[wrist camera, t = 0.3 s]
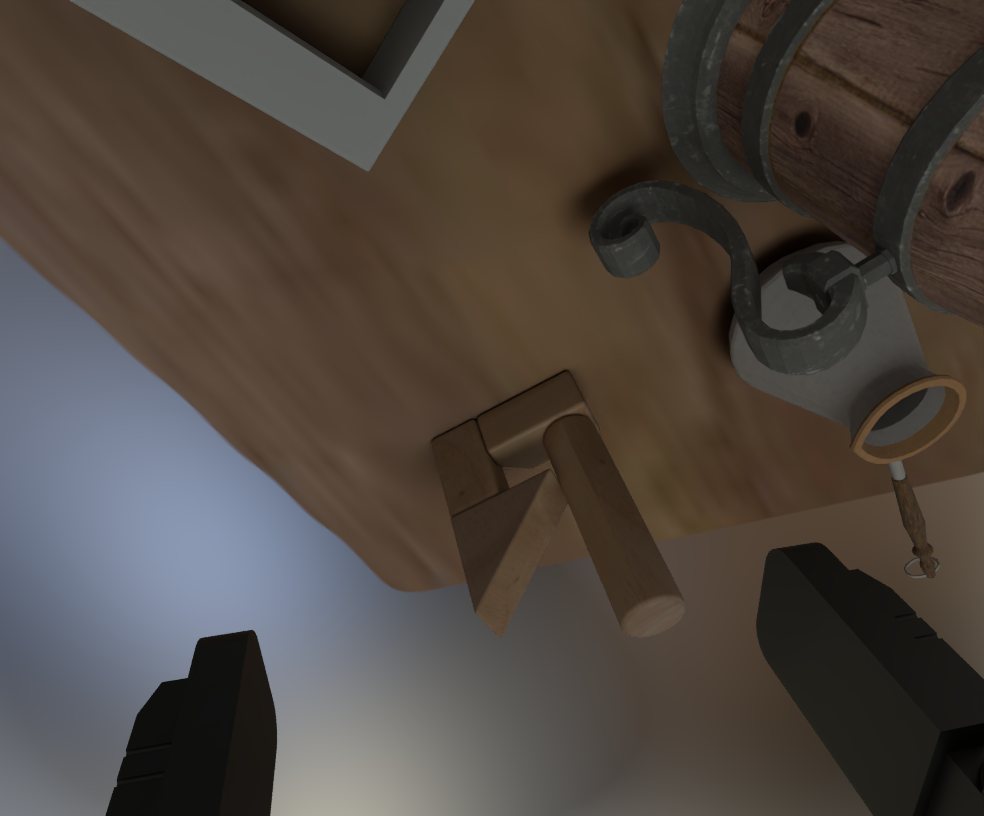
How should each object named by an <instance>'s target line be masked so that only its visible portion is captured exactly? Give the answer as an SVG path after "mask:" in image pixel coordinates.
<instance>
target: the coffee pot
mask: <svg viewBox="0 0 984 816" xmlns="http://www.w3.org/2000/svg"><path fill="white" fill-rule="evenodd" d="M830 250H835V251H838V252H840V253H841V254H842V255H844V256H845V257H846V258H847V259H848V260H849V261H851V262H852V263H853V264H854V265H855V264H856V263H858V262H860V261H861V260H863V259H864V258H866V257H867V256H865V255H864V254H863V253H861V252H860V251H858V250H857V249H856V248H854V247H853V246H852V245H850V244H849V243H847V242H842V241H832V242H825V243H819V244H815V245H812V246H809V247H807V248H804V249H802V250H799V251H796V252H794V253H791V254H789V255H787V256H784V257H782V258H781V259H779V260H777V261H776V262H774V263H773V264H771V265H769V266H768V267H767V268H766V269H765V270H764V271H763V272H762V273H760V274H759V277H760V281H761V304H762V321H763V322H764V323H765V324H767V325H768V326H769V327H770V328H773V329H777V330H795V329H798V328H801V327H804V326H807V325H810V324H812V323H813V322H814V321H816V320H817V319H819V318H820V317H821V316H822V314H821V313H820V312H819V311H818V310H817V308H816V305H815V302H814V300H812V299H811V298H809V297H807V296H805V295H802V294H800V293H798V292H795V291H792V290H789V289H788V288H787V285H786V282H785V279H784V277H783V273H782V265H783V262H784V261H786V260H788V259H790V258H792V257H794V256H796V255H799V254H805V253H810V252H822V253H827V252H829V251H830ZM865 294H866V298H867V302H868V306H869V307H868V309H867V314H868V315H867V321H866V326H865V329H864V331H863V333H862V336H861V338H860V340H859V342H858V344H857V345H856V346H855V347H854V349H853V350H852V351H851V352H850V353H849V354H848V356H847V357H846V358H845V359H843V360H842V361H840V362H839V363H837V364H836V365H834V366H833V367H831V368H830V369H827V370H824V371H821V372H818V373H814V374H811V375H796V376H791V375H786V374H782V373H778V372H774V371H772V370H770V369H769V368H767V367H766V366H765V365H763V364H762V363H760V362H759V361H758V360H757V359H756V357H755V355H754V354H753V352H752V351H751V349H750V347H749V346H748V344H747V342H746V339H745V337H744V335H743V332H742V330H741V328H740V326H739V323H738V321H737V319H736V316H735V314H734V316H733V319H732V323H731V327H730V331H729V346H730V358H731V361H732V363H733V365H734V368H735V370H736V372H737V374H738V376H740V377H741V378H742V379H743V380H744V381H745V382H747V383H748V384H749V385H750V386H752V387H754V388H756V389H759V390H761V391H764V392H766V393H768V394H771V395H773V396H775V397H778V398H780V399H783V400H785V401H787V402H790V403H792V404H795V405H797V406H799V407H802V408H804V409H807V410H809V411H811V412H814V413H816V414H818V415H821V416H823V417H826V418H828V419H830V420H833V421H835V422H838V423H840V424H842V425H845V426H847V427H849V428H850V432H851V445H850V449H851V450H852V451H853V452H854V453H855V454H856V455H858V456H859V457H861V458H863V459H864V460H866V461H869V462H872V463H876V464H887V463H888V466H889V469H890V472H891V474H892V481H893V485H894V489H895V493H896V497H897V501H898V505H899V509H900V513H901V517H902V521H903V525H904V527H905V529H906V530H907V532H908V534H909V536H910V538H911V540H912V542H913V543H914V547H913V549H912V552H913V554H914V555H915V556H917V557H919V558H915V559H912V560H911V561H910V562H908V563H907V564H906V566H905V567H904V570H905V573H906V575H908V576H909V577H912V578H923V577H928V578H933V577H935V572H936V571H937V570H938V569H939V567H940V564H939V562H938V560H937V559H935V558H933V557H931V554H932V553H933V548H932V546H931V545H930V544H928V543H927V537H926V528H925V520H924V518H923V516H922V513H921V510H920V508H919V505H918V502H917V500H916V497H915V495H914V492H913V490H912V487H911V485H910V482H909V480H908V477H907V475H906V474H905V471H904V468H903V464H902V461H901V460H903V459H905V458H908V457H910V456H913V455H915V454H917V453H918V452H920V451H922V450H924V449H926V448H927V447H929V446H930V445H931V444H933V443H934V442H936V441H937V440H938V439H939V438H941V437H942V436H943V435H944V434H945V433H946V432H947V431H948V430H949V429H950V428H951V427H952V426H953V424H954V423H955V422H956V421H957V419H958V418H959V416H960V414H961V413H962V411H963V409H964V406H965V402H966V399H967V397H966V389H965V387H964V386H963V384H962V383H961V382H960V380H958V379H956V378H953V377H951V376H948V375H936V374H934V373H932V372H930V371H929V370H928V367H927V364H926V361H925V358H924V355H923V352H922V349H921V346H920V343H919V340H918V337H917V334H916V331H915V328H914V325H913V322H912V319H911V317H910V314H909V311H908V308H907V305H906V302H905V299H904V296H903V293H902V290H901V288H899V287H898V286H896V285H895V284H894V283H893V282H892V281H891V280H890V279H889V277H888V276H885V277H883V278H882V279H880V280H878V281H877V282H875V283H873V284H872V285H870V286H868V287H867V290H865ZM918 560H920V567H921V568H922V570H923V572H924V573H925V574H923V575H911V574H909V573H907V572H906V569H907V568H908V566H909V565H910V564H911V563H913V562H914V561H918ZM933 560H934V561H936V562H937V563H938V565H937V567H936V568H935V563H934V561H933Z"/></svg>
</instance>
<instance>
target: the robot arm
mask: <svg viewBox="0 0 984 816" xmlns="http://www.w3.org/2000/svg"><path fill="white" fill-rule="evenodd" d="M756 629H757V637H758V641H759V645H760V648H761V650H762V653H763V655H764V657H765V659H766V660H767V662H768V664H769V665H770V667H771V668H772V670H773V671H774V673H775V674H776V675H777V677H778V678H779V680H780V681H781V683H782V684H783V686H784V687H785V688H786V690H787V691H788V693H789V694H790V696H791V697H792V699H793V700H794V702H795V703H796V704H797V706H798V707H799V709H800V710H801V712H802V713H803V715H804V716H805V717H806V719H807V720H808V722H809V723H810V725H811V726H812V727H813V729H814V730H815V732H816V733H817V735H818V736H819V738H820V739H821V741H822V742H823V743H824V745H825V746H826V748H827V749H828V751H829V752H830V754H831V755H832V757H833V758H834V759H835V761H836V762H837V764H838V765H839V767H840V768H841V770H842V771H843V772H844V774H845V775H846V777H847V778H848V780H849V781H850V782H851V784H852V785H853V787H854V788H855V790H856V791H857V793H858V794H859V796H860V797H861V798H862V800H863V801H864V803H865V804H866V806H867V807H868V809H869V810H870V811H871V813H872V814H873V816H984V679H983V678H982V677H981V676H980V675H979V674H978V673H977V672H976V671H975V670H974V669H973V668H972V667H971V666H969V664H968V663H967V662H966V661H965V660H963V658H961V657H960V656H959V655H958V654H957V653H956V652H955V651H954V650H953V649H952V648H951V647H950V646H949V645H948V644H947V643H946V642H945V641H944V640H943V639H942V638H941V639H939V638H938V637H937V633H936V632H935V631H934V630H933V629H932V628H931V627H930V626H929V625H928V624H927V623H926V622H925V621H924V620H923V619H922V618H917V616H916V612H915V611H914V610H913V609H912V608H911V607H910V606H909V605H908V604H907V603H906V602H905V601H904V600H903V599H901V598H900V597H899V595H897V594H896V593H895V592H894V591H893V590H892V589H891V588H890V587H888V586H886V585H885V584H882V583H881V582H879V581H878V580H876V579H874V578H872V577H871V576H869V575H867V574H865V573H864V572H862V571H860V570H859V569H855V570H848V569H847V568H846V567H845V566H844V565H843V564H842V563H841V562H840V561H839V559H838V558H837V557H835V555H834V554H833V553H832V552H831V551H830V550H829V549H828V548H827V547H826V546H824V545H823V544H821V543H809V544H802V545H796V546H790V547H783V548H777V549H772V550H771V551H770V552H769V553H768V555H767V557H766V561H765V568H764V575H763V581H762V587H761V594H760V601H759V607H758V614H757V621H756ZM276 749H277V723H276V713H275V707H274V702H273V698H272V694H271V690H270V686H269V682H268V678H267V674H266V670H265V666H264V662H263V658H262V655H261V650H260V646H259V642H258V639H257V636H256V633H255V632H254V631H253V630H249V631H242V632H236V633H230V634H224V635H217V636H211V637H204V638H200V639H199V640H198V642H197V645H196V648H195V652H194V655H193V659H192V664H191V667H190V671H189V675H188V678H185V679H179V680H173V681H167V682H162V683H161V684H160V686H159V687H158V688H157V689H156V691H155V692H154V693H153V695H152V696H151V697H150V699H149V700H148V701H147V702H146V704H145V705H144V706H143V708H142V709H141V710H140V712H139V713H138V714H137V717H136V720H135V723H134V726H133V729H132V732H131V736H130V739H129V742H128V745H127V748H126V757H124V758H123V761H122V764H121V768H120V771H119V774H118V777H117V787H114V790H113V793H112V796H111V800H110V803H109V806H108V809H107V812H106V816H270V812H271V802H272V792H273V781H274V770H275V759H276Z"/></svg>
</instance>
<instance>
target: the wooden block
mask: <svg viewBox="0 0 984 816" xmlns="http://www.w3.org/2000/svg"><path fill="white" fill-rule="evenodd" d="M432 448H433V452H434V455H435V459H436V463H437V467H438V471H439V475H440V479H441V482H442V486H443V490H444V494H445V498H446V502H447V505H448V509H449V513H450V517H451V522H452V526H453V530H454V534H455V538H456V542H457V546H458V549H459V553H460V557H461V561H462V565H463V569H464V573H465V576H466V580H467V584H468V588H469V592H470V596H471V599H472V603H473V607H474V611H475V613H476V614H477V615H478V616H479V617H480V618H481V619H482V620H483V621H484V622H485V623H486V624H487V625H488V626H489V627H490V628H491V629H492V630H493V631H494V632H495V633H496V634H497V635H498V636H499V637H502V636H503V634H504V632H505V630H506V628H507V626H508V624H509V622H510V620H511V617H512V616H513V614H514V612H515V610H516V607H517V605H518V604H519V601H520V599H521V597H522V595H523V593H524V591H525V589H526V587H527V585H528V583H529V581H530V579H531V577H532V575H533V573H534V571H535V569H536V567H537V565H538V563H539V561H540V559H541V557H542V555H543V553H544V551H545V548H546V546H547V544H548V542H549V540H550V538H551V536H552V534H553V532H554V530H555V528H556V526H557V524H558V522H559V520H560V518H561V516H562V514H563V512H564V510H565V508H566V506H567V504H569V506H570V509H571V511H572V513H573V516H574V518H575V520H576V523H577V525H578V528H579V530H580V532H581V535H582V537H583V539H584V542H585V544H586V546H587V549H588V551H589V554H590V556H591V558H592V561H593V563H594V565H595V568H596V570H597V573H598V575H599V577H600V580H601V582H602V584H603V587H604V589H605V591H606V594H607V596H608V598H609V601H610V603H611V606H612V608H613V610H614V613H615V615H616V617H617V620H618V622H619V624H620V627H621V629H622V630H623V631H624V632H625V633H627V634H628V635H629V636H633V637H647V636H652V635H655V634H658V633H661V632H663V631H665V630H667V629H668V628H670V627H672V626H673V625H674V624H675V623H677V622H678V621H679V620H680V619H681V617H682V616H683V614H684V611H685V602H684V599H683V597H682V595H681V593H680V591H679V589H678V587H677V585H676V583H675V581H674V579H673V577H672V575H671V573H670V571H669V570H668V567H667V565H666V563H665V561H664V560H663V558H662V555H661V554H660V552H659V550H658V548H657V546H656V544H655V542H654V540H653V538H652V536H651V534H650V532H649V530H648V528H647V526H646V524H645V522H644V520H643V518H642V516H641V514H640V512H639V511H638V509H637V507H636V505H635V503H634V501H633V499H632V497H631V495H630V493H629V491H628V489H627V487H626V485H625V483H624V481H623V479H622V477H621V475H620V473H619V471H618V469H617V468H616V466H615V464H614V462H613V460H612V458H611V456H610V454H609V452H608V450H607V448H606V446H605V444H604V442H603V440H602V438H601V436H600V428H599V426H598V424H597V422H596V420H595V418H594V416H593V415H592V413H591V411H590V409H589V407H588V405H587V403H586V401H585V399H584V397H583V395H582V393H581V391H580V389H579V388H578V386H577V384H576V382H575V380H574V378H573V376H572V374H571V373H570V372H568V371H565V372H563V373H561V374H559V375H557V376H556V377H554V378H552V379H550V380H548V381H546V382H544V383H542V384H540V385H538V386H536V387H534V388H532V389H531V390H529V391H527V392H525V393H523V394H521V395H519V396H517V397H515V398H513V399H511V400H509V401H507V402H505V403H504V404H502V405H500V406H498V407H496V408H494V409H492V410H490V411H488V412H486V413H484V414H482V415H480V416H479V417H478V418H477V421H475V420H470V421H468V422H466V423H464V424H462V425H460V426H458V427H456V428H454V429H452V430H451V431H449V432H447V433H445V434H443V435H441V436H439V437H437V438H435V439H434V440H433V441H432ZM548 460H550V461H551V464H552V466H553V468H554V471H555V473H556V475H557V478H558V479H557V478H556V476H555V475H554V473H553V472H552V470H551V469H548V470H546V471H544V472H542V473H540V474H538V475H536V476H534V477H532V478H530V479H528V480H526V481H524V482H522V483H520V484H518V485H516V486H514V487H512V488H510V489H509V486H508V483H507V480H506V477H505V474H504V472H503V469H502V466H504V467H515V468H527V469H530V468H534V467H536V466H538V465H540V464H542V463H544V462H546V461H548ZM558 480H559V481H558Z"/></svg>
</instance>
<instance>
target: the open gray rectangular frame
mask: <svg viewBox="0 0 984 816" xmlns="http://www.w3.org/2000/svg"><path fill="white" fill-rule="evenodd" d="M69 1H71V2H73V3H75V4H76V5H78V6H80V7H82V8H83V9H85V10H87V11H89V12H90V13H92V14H94V15H96V16H97V17H99V18H101V19H103V20H104V21H106V22H108V23H110V24H111V25H113V26H115V27H117V28H118V29H120V30H122V31H124V32H125V33H127V34H129V35H130V36H132V37H134V38H136V39H137V40H139V41H141V42H143V43H144V44H146V45H148V46H150V47H151V48H153V49H155V50H157V51H158V52H160V53H162V54H164V55H165V56H167V57H169V58H171V59H172V60H174V61H176V62H178V63H179V64H181V65H183V66H185V67H186V68H188V69H190V70H192V71H193V72H195V73H197V74H198V75H200V76H202V77H204V78H205V79H207V80H209V81H211V82H212V83H214V84H216V85H218V86H219V87H221V88H223V89H225V90H226V91H228V92H230V93H232V94H233V95H235V96H237V97H239V98H240V99H242V100H244V101H246V102H247V103H249V104H251V105H253V106H254V107H256V108H258V109H260V110H261V111H263V112H265V113H266V114H268V115H270V116H272V117H273V118H275V119H277V120H279V121H280V122H282V123H284V124H286V125H287V126H289V127H291V128H293V129H294V130H296V131H298V132H300V133H301V134H303V135H305V136H307V137H308V138H310V139H312V140H314V141H315V142H317V143H319V144H321V145H322V146H324V147H326V148H328V149H329V150H331V151H333V152H334V153H336V154H338V155H340V156H341V157H343V158H345V159H347V160H348V161H350V162H352V163H354V164H355V165H357V166H359V167H361V168H362V169H364V170H366V171H368V172H369V170H370V169H371V167H372V166H373V164H374V162H375V161H376V159H377V158H378V156H379V154H380V153H381V151H382V149H383V148H384V146H385V145H386V143H387V141H388V140H389V138H390V137H391V135H392V133H393V132H394V130H395V128H396V127H397V125H398V124H399V122H400V120H401V119H402V117H403V116H404V114H405V112H406V111H407V109H408V107H409V106H410V104H411V103H412V101H413V99H414V98H415V96H416V95H417V93H418V91H419V90H420V88H421V87H422V85H423V83H424V82H425V80H426V78H427V77H428V75H429V74H430V72H431V70H432V69H433V67H434V66H435V64H436V62H437V61H438V59H439V57H440V56H441V54H442V53H443V51H444V49H445V48H446V46H447V45H448V43H449V41H450V40H451V38H452V36H453V35H454V33H455V32H456V30H457V28H458V27H459V25H460V24H461V22H462V20H463V19H464V17H465V15H466V14H467V12H468V11H469V9H470V7H471V6H472V4H473V3H474V1H475V0H406V2H405V4H404V5H403V7H402V9H401V11H400V12H399V14H398V16H397V18H396V19H395V21H394V23H393V25H392V26H391V28H390V30H389V31H388V33H387V35H386V37H385V38H384V40H383V42H382V44H381V45H380V47H379V49H378V51H377V52H376V54H375V56H374V57H373V59H372V61H371V63H370V64H369V66H368V68H367V70H366V71H365V73H364V75H363V77H362V78H360V77H358V76H357V75H355V74H354V73H352V72H351V71H349V70H348V69H346V68H345V67H343V66H341V65H340V64H338V63H337V62H335V61H334V60H332V59H331V58H329V57H328V56H326V55H325V54H323V53H321V52H320V51H318V50H317V49H315V48H314V47H312V46H311V45H309V44H308V43H306V42H305V41H303V40H301V39H300V38H298V37H297V36H295V35H294V34H292V33H291V32H289V31H288V30H286V29H285V28H283V27H281V26H280V25H278V24H277V23H275V22H274V21H272V20H271V19H269V18H268V17H266V16H265V15H263V14H261V13H260V12H258V11H257V10H255V9H254V8H252V7H251V6H249V5H248V4H246V3H245V2H243V1H241V0H69Z"/></svg>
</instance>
